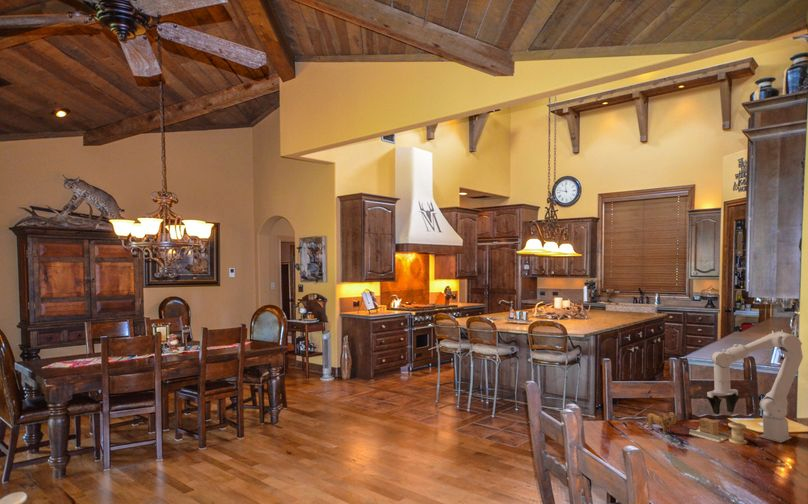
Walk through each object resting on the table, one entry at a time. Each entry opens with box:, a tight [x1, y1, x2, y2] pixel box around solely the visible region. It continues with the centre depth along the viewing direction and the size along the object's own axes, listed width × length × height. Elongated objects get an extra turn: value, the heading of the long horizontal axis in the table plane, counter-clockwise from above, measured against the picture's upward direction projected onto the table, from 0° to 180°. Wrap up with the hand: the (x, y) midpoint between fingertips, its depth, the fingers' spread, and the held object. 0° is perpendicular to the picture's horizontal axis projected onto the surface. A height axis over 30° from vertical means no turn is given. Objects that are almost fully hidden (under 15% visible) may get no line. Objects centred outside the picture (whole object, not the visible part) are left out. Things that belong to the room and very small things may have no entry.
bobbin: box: [728, 421, 748, 446], centre depth 198 cm, size 6×6×7 cm
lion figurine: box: [641, 411, 678, 435], centre depth 214 cm, size 15×5×9 cm, turn 41°
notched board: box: [688, 425, 731, 443], centre depth 206 cm, size 9×12×2 cm
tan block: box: [698, 417, 720, 436], centre depth 206 cm, size 4×6×6 cm, turn 20°
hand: (723, 412), depth 207 cm, fingers open, 7 cm apart
